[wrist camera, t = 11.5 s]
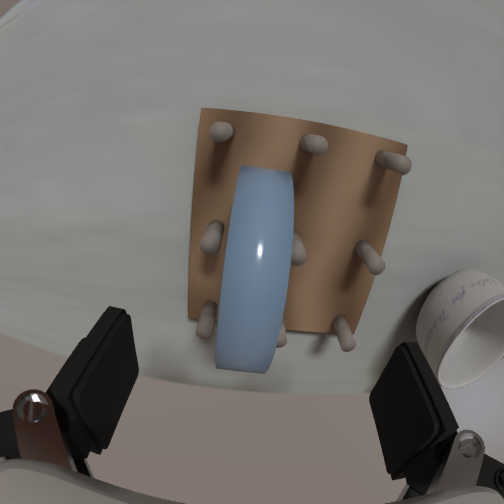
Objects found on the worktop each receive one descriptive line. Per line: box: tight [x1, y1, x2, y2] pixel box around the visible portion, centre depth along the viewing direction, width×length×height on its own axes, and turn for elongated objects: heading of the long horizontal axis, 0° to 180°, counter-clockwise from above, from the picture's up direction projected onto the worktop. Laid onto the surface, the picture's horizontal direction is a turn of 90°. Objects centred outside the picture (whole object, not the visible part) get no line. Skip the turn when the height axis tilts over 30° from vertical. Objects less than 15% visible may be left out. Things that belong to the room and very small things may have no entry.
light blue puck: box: [216, 165, 294, 374], centre depth 17 cm, size 2×11×12 cm, turn 173°
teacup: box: [416, 269, 504, 389], centre depth 23 cm, size 14×11×8 cm
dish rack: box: [188, 108, 411, 352], centre depth 21 cm, size 15×17×5 cm
